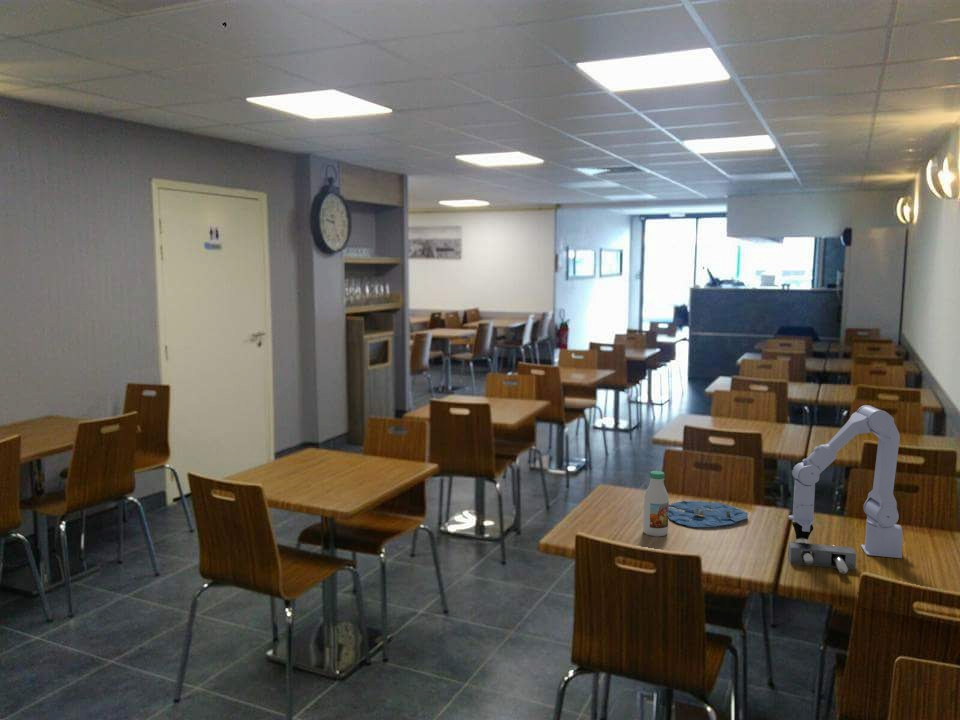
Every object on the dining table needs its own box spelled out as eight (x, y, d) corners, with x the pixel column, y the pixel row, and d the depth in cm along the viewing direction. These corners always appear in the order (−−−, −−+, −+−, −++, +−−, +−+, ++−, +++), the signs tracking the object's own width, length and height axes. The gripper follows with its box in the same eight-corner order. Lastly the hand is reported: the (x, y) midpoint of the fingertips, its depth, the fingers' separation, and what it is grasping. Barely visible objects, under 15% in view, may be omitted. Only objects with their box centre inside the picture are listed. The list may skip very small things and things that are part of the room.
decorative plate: (647, 526, 250) (647, 511, 250) (671, 501, 276) (671, 487, 276) (739, 538, 236) (739, 522, 235) (755, 510, 262) (755, 496, 261)
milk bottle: (640, 534, 237) (641, 473, 235) (646, 527, 244) (648, 468, 242) (664, 538, 234) (666, 476, 231) (670, 531, 240) (672, 470, 238)
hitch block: (851, 563, 214) (852, 547, 213) (855, 569, 209) (856, 553, 209) (788, 557, 219) (788, 541, 218) (790, 563, 214) (791, 547, 213)
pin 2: (825, 558, 217) (826, 544, 216) (841, 560, 216) (842, 545, 215) (834, 576, 204) (834, 560, 204) (851, 578, 203) (852, 562, 203)
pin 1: (794, 550, 223) (794, 536, 222) (809, 552, 222) (810, 538, 221) (800, 567, 210) (801, 552, 210) (817, 569, 209) (818, 554, 209)
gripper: (786, 495, 230) (784, 537, 232) (792, 509, 216) (790, 554, 218) (810, 497, 228) (808, 539, 230) (818, 511, 215) (816, 556, 216)
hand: (801, 546), depth 224 cm, fingers closed
